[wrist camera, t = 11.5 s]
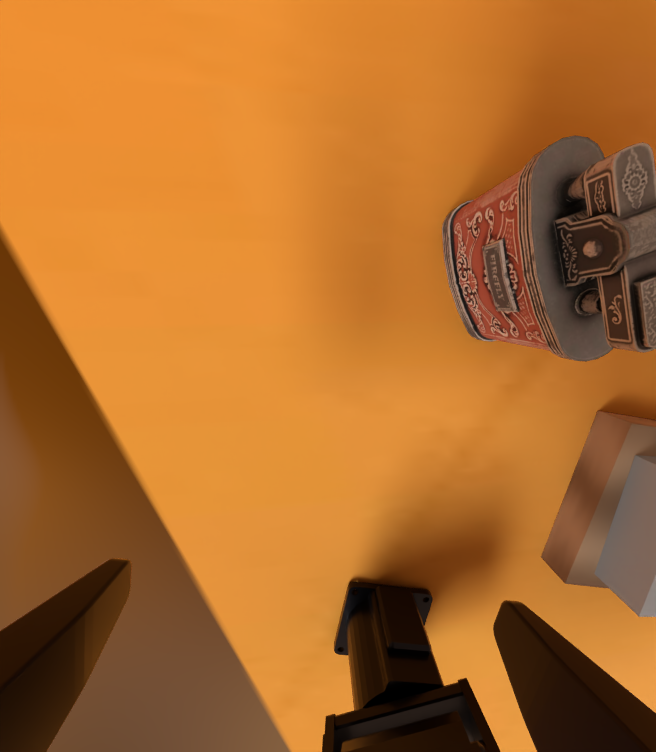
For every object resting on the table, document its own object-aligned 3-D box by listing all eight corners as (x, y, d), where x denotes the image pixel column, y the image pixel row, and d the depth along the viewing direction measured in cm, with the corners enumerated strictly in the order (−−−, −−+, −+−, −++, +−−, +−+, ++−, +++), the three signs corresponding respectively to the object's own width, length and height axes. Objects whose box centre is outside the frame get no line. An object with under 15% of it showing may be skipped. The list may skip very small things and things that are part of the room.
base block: (669, 565, 25) (715, 599, 22) (534, 550, 24) (564, 583, 21) (736, 431, 23) (798, 450, 20) (588, 407, 22) (631, 423, 19)
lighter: (431, 217, 18) (576, 111, 8) (487, 195, 18) (705, 61, 8) (465, 347, 20) (616, 391, 10) (516, 329, 19) (721, 354, 10)
